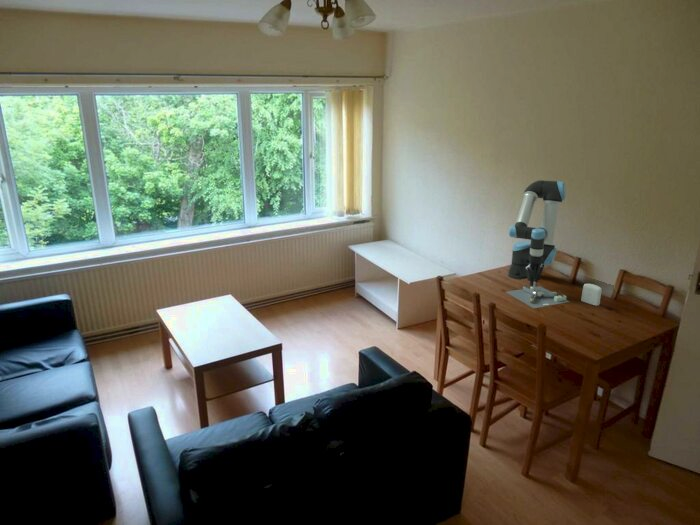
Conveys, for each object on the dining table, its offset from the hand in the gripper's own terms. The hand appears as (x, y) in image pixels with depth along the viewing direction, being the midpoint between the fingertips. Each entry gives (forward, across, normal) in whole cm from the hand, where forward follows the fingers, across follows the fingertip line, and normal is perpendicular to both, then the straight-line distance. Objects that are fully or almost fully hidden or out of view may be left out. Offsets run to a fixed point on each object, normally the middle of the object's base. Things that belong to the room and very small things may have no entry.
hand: (532, 291), depth 305 cm
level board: (+2, +1, +6) cm, 6 cm away
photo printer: (+3, -22, +24) cm, 33 cm away
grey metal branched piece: (+1, +1, +3) cm, 4 cm away
